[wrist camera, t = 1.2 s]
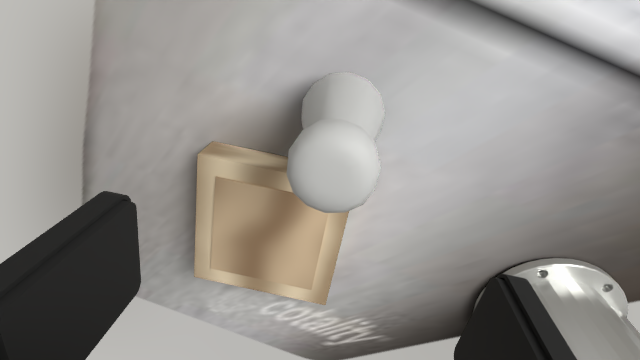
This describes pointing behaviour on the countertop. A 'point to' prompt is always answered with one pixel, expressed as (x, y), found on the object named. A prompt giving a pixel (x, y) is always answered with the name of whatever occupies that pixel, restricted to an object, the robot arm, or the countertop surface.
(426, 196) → the countertop surface
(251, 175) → the base board
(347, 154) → the salt shaker
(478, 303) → the robot arm
